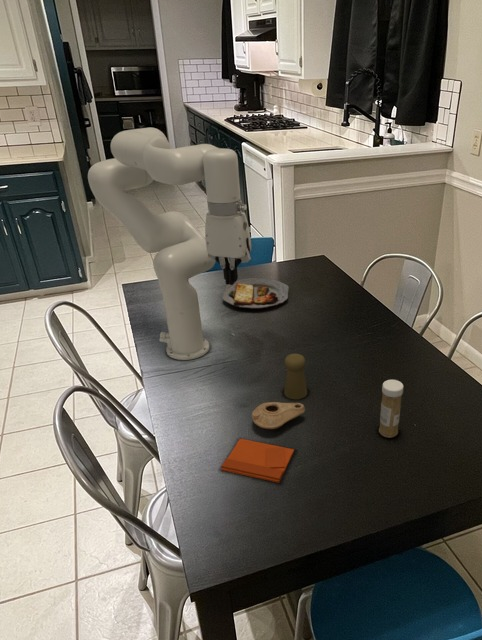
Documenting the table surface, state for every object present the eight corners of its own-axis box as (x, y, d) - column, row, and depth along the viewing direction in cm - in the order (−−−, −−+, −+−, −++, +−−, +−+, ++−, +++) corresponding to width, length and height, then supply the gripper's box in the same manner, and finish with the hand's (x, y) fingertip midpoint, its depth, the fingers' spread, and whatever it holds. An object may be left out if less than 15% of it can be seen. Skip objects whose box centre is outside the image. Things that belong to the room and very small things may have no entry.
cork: (290, 401, 127) (289, 365, 121) (280, 389, 131) (278, 353, 126) (311, 395, 129) (311, 359, 123) (300, 383, 134) (300, 348, 128)
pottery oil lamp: (311, 426, 118) (303, 412, 112) (264, 444, 119) (254, 432, 113) (301, 395, 123) (293, 381, 117) (256, 413, 124) (246, 400, 118)
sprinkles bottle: (401, 436, 115) (407, 388, 108) (382, 439, 114) (387, 391, 107) (393, 424, 119) (398, 377, 112) (375, 427, 118) (379, 380, 111)
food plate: (287, 313, 170) (286, 303, 168) (218, 313, 170) (217, 303, 168) (289, 284, 191) (289, 275, 189) (229, 284, 191) (228, 275, 189)
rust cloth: (221, 470, 106) (221, 466, 106) (240, 440, 114) (239, 436, 114) (279, 483, 103) (279, 479, 103) (294, 451, 111) (294, 447, 111)
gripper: (261, 205, 115) (265, 280, 125) (202, 201, 119) (210, 274, 129) (248, 214, 109) (253, 292, 119) (187, 209, 113) (197, 285, 123)
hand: (231, 282), depth 124 cm, fingers closed
